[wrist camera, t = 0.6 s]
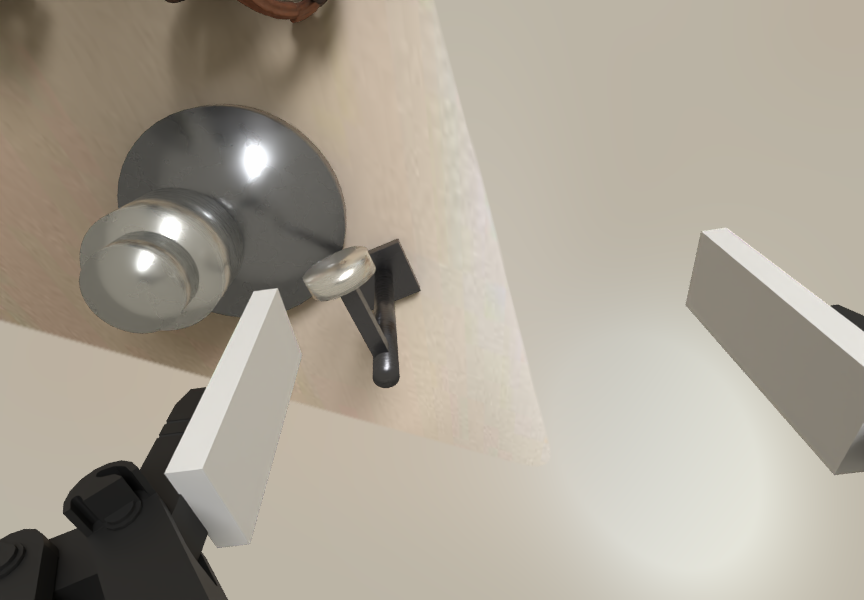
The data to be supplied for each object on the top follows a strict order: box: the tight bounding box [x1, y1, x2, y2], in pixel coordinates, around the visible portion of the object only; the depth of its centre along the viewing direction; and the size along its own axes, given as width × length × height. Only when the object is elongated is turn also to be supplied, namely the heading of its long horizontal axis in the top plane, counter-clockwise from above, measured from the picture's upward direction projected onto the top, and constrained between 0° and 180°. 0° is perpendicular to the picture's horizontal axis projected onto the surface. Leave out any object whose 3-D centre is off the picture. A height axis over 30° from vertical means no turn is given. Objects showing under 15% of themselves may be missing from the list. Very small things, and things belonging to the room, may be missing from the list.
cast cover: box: [79, 187, 244, 333], centre depth 34 cm, size 9×9×9 cm
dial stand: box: [303, 239, 421, 388], centre depth 35 cm, size 10×5×16 cm, turn 22°
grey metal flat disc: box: [117, 104, 346, 317], centre depth 38 cm, size 17×17×2 cm
